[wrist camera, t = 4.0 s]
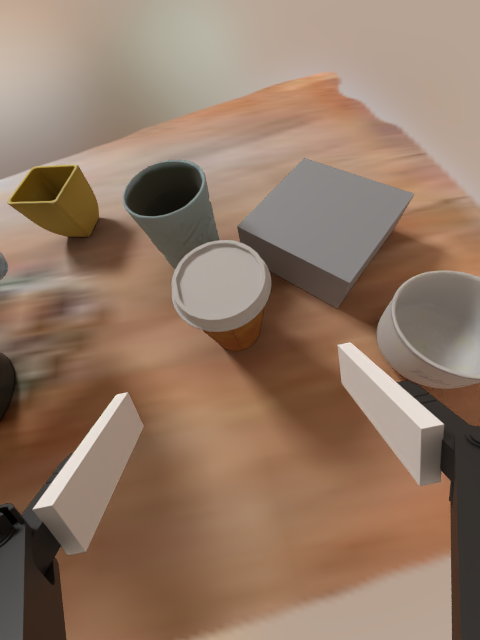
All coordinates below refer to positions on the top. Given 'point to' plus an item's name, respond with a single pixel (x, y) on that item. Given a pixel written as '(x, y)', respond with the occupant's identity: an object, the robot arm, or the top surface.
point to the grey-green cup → (172, 207)
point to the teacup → (434, 330)
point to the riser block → (323, 227)
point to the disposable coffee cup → (223, 292)
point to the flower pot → (57, 200)
